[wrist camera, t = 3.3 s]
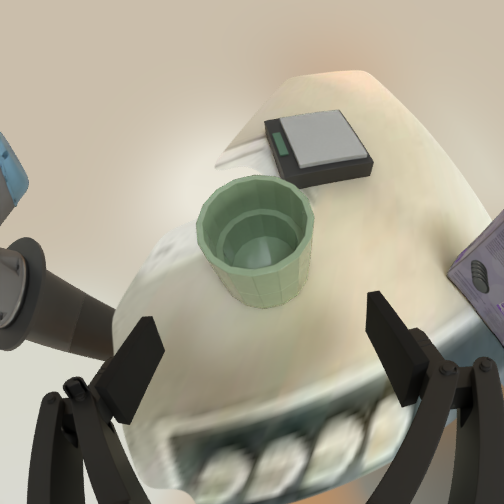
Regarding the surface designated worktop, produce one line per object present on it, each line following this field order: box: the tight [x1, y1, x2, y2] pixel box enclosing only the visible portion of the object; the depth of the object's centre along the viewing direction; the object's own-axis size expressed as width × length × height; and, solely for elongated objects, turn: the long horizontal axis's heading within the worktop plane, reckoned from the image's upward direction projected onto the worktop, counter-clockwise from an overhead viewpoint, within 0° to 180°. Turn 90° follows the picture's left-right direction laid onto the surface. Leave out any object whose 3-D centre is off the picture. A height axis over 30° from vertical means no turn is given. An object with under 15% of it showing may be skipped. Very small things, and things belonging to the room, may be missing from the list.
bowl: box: [196, 175, 314, 309], centre depth 29 cm, size 10×10×10 cm
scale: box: [264, 110, 374, 189], centre depth 39 cm, size 13×13×4 cm
